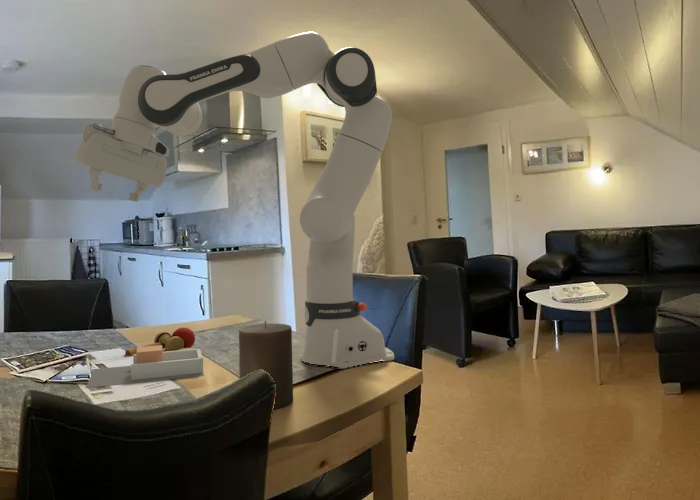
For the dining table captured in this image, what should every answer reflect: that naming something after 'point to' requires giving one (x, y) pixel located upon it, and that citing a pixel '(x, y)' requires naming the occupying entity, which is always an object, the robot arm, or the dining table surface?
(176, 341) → the kendama
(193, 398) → the dining table surface
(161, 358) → the terracotta block
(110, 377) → the channel
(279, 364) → the pillar candle
